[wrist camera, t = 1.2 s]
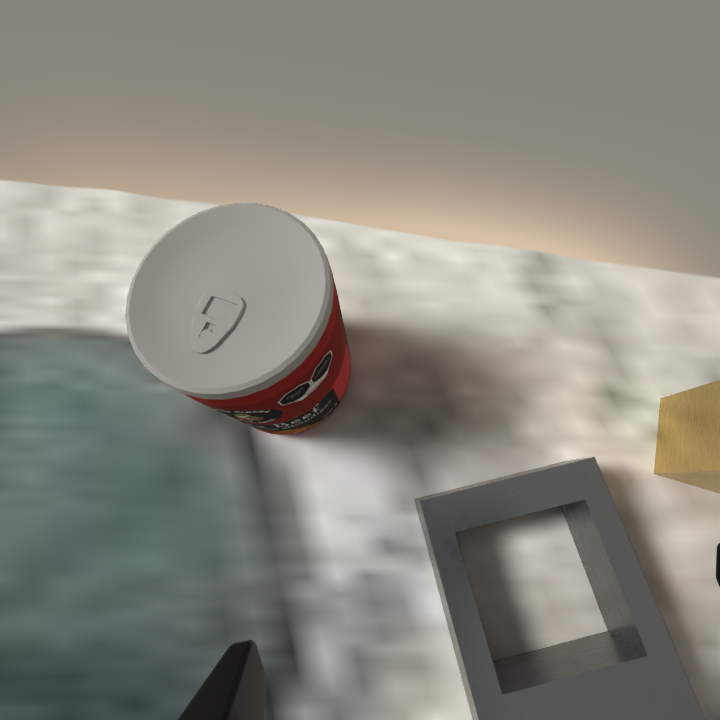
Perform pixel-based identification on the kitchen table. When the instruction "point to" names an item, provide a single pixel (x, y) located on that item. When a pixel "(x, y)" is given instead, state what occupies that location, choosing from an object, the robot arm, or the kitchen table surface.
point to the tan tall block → (690, 437)
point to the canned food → (243, 317)
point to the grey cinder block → (575, 658)
